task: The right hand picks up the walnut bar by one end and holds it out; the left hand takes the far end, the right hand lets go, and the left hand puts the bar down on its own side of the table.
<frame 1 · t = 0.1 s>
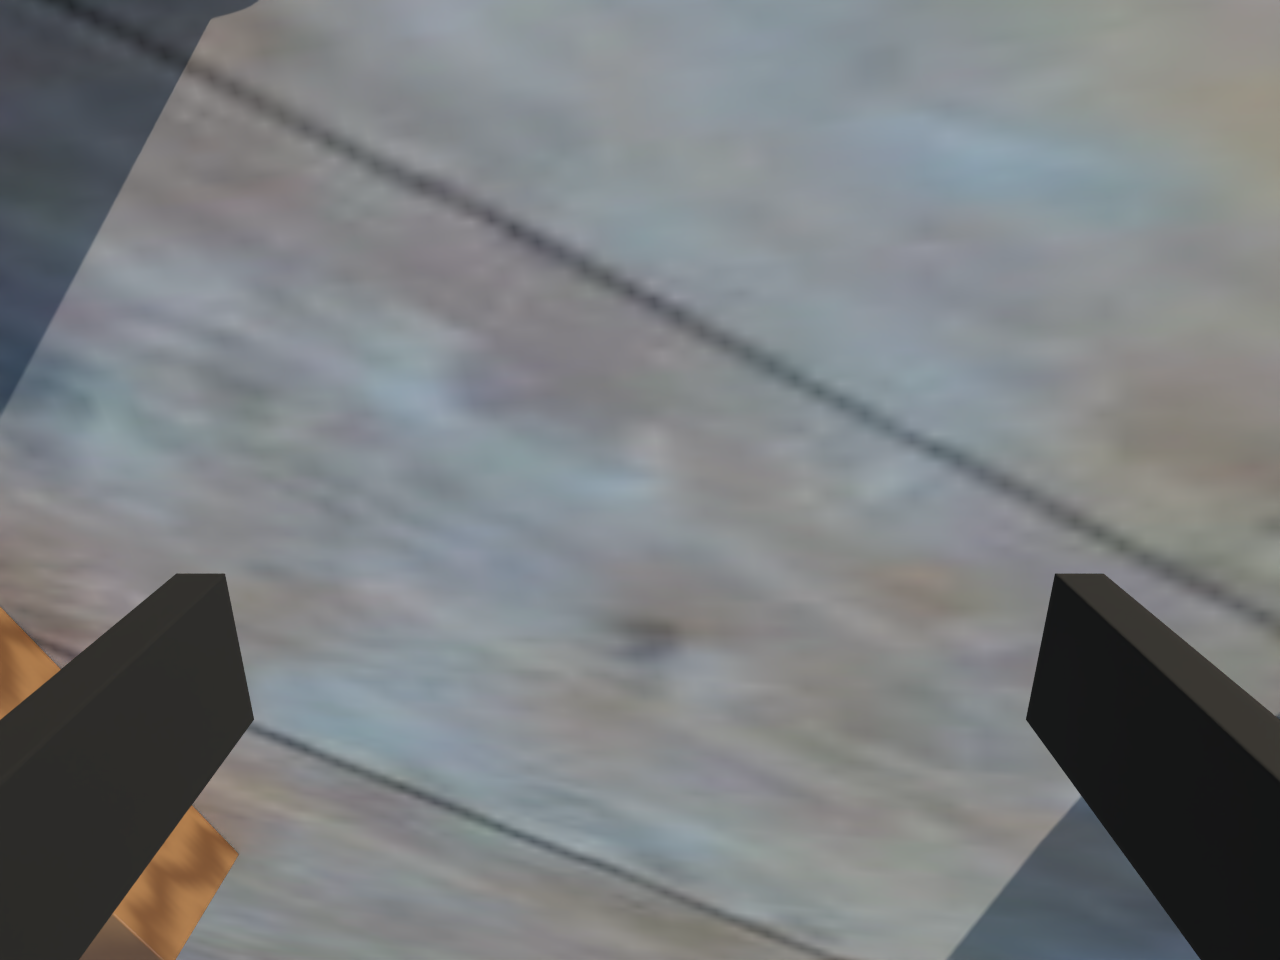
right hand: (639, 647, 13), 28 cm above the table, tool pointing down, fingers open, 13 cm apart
bar: (67, 724, 47), on the table
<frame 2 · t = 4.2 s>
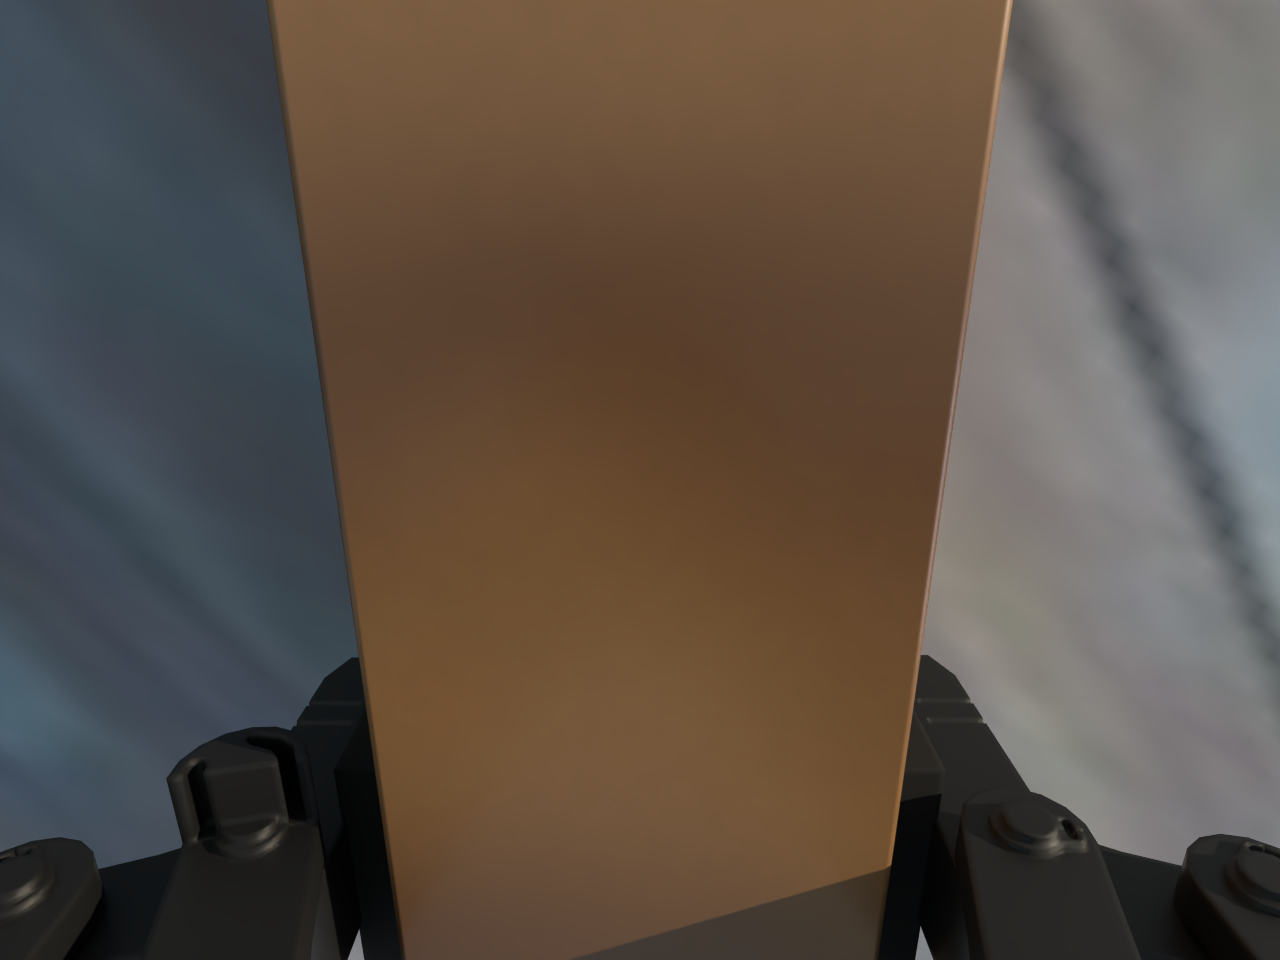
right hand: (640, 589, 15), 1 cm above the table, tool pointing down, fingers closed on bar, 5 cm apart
bar: (639, 17, 12), on the table, touching right hand
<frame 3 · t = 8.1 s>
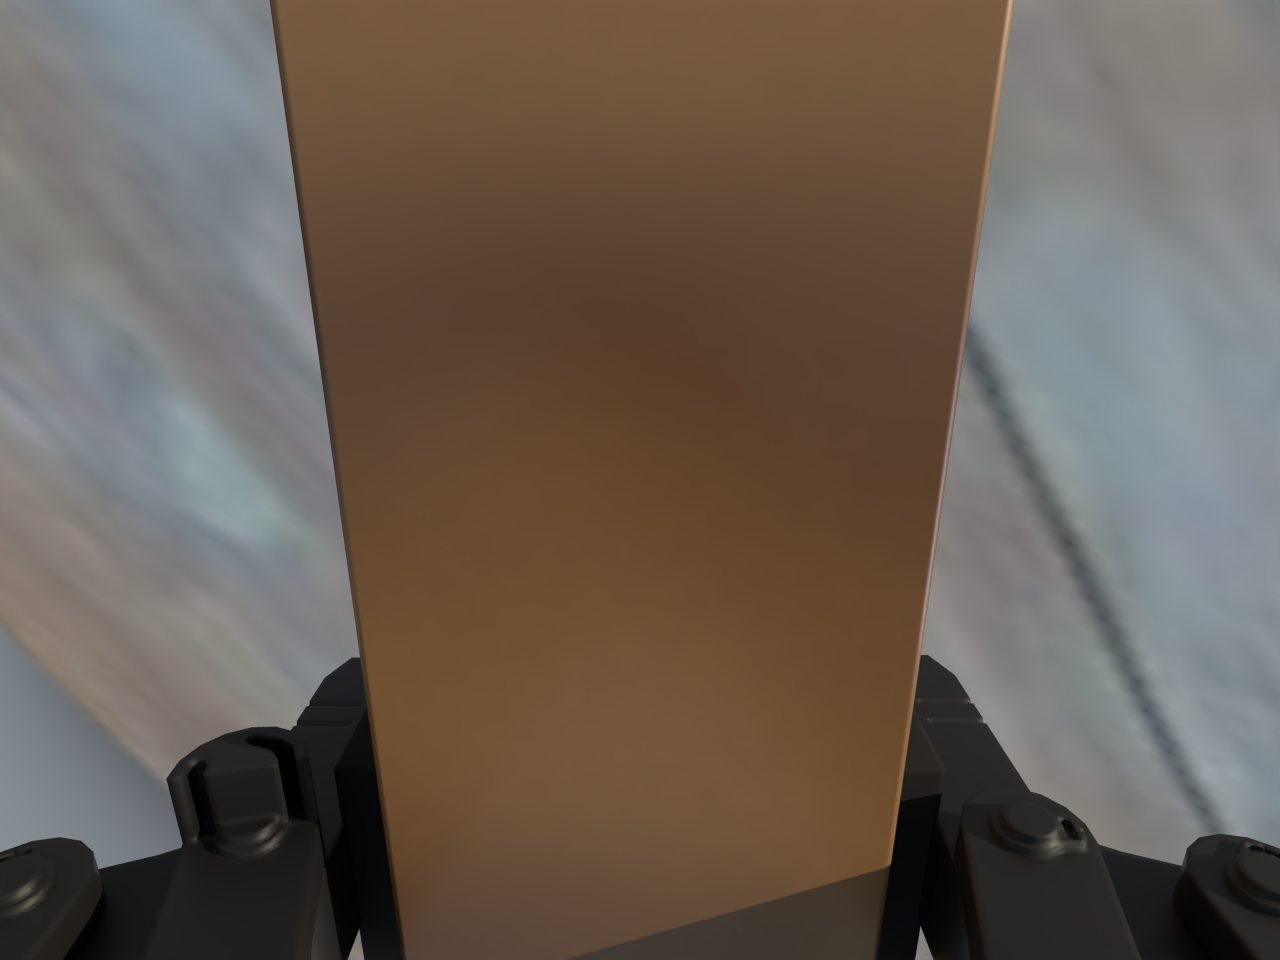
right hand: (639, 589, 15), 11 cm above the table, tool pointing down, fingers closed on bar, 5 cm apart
bar: (640, 16, 12), point 10 cm above the table, touching right hand, left hand
when the right hand's fingers open (11 cm above the table, at t = 9.1 s): bar stays where it is, held by the left hand.
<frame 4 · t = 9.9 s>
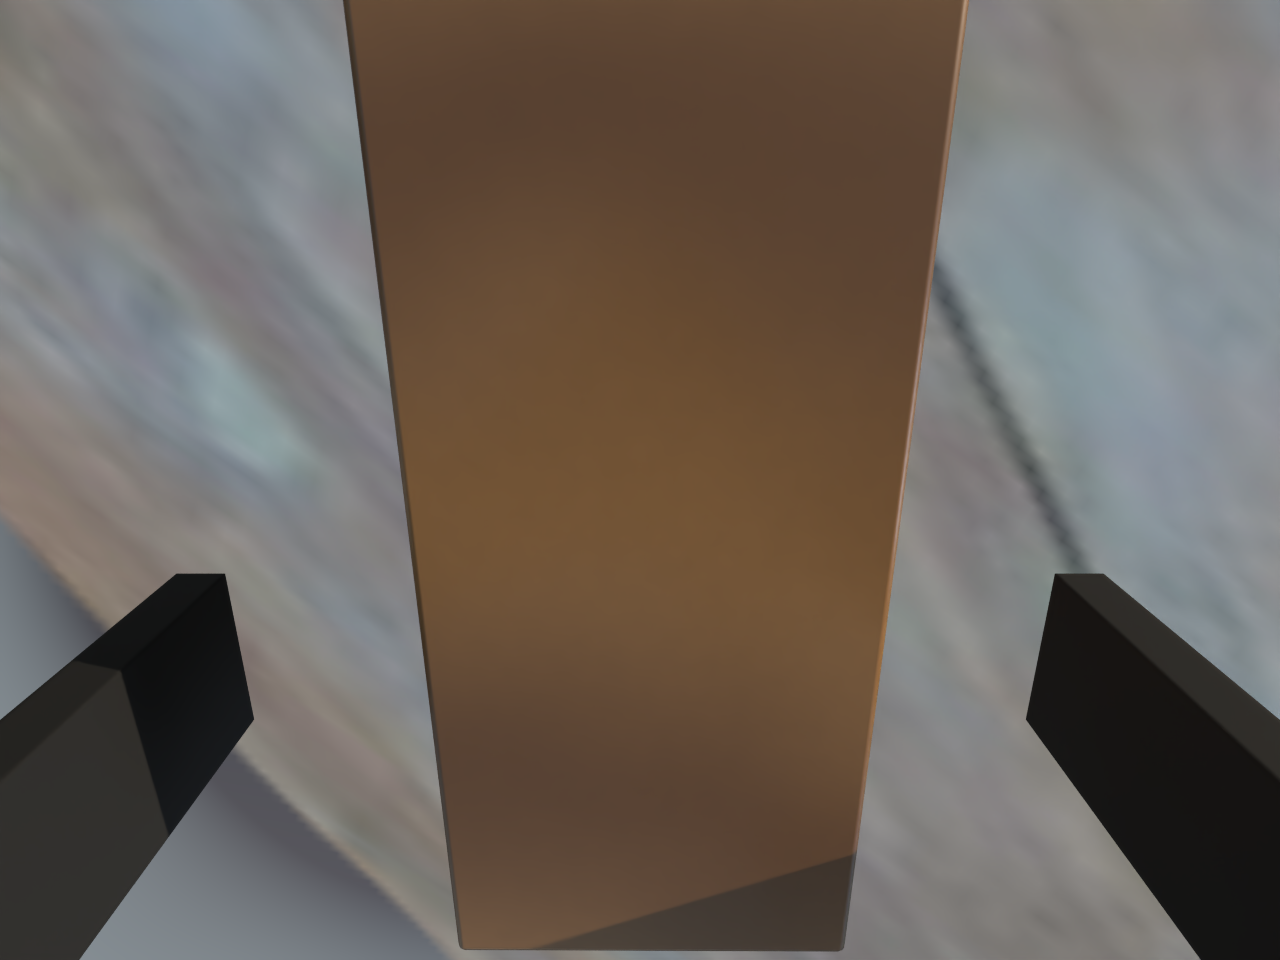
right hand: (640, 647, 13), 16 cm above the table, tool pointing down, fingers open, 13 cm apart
when the left hand's fingers open (4 cm above the table, at t = 14.4 s): bar stays where it is, on the table.
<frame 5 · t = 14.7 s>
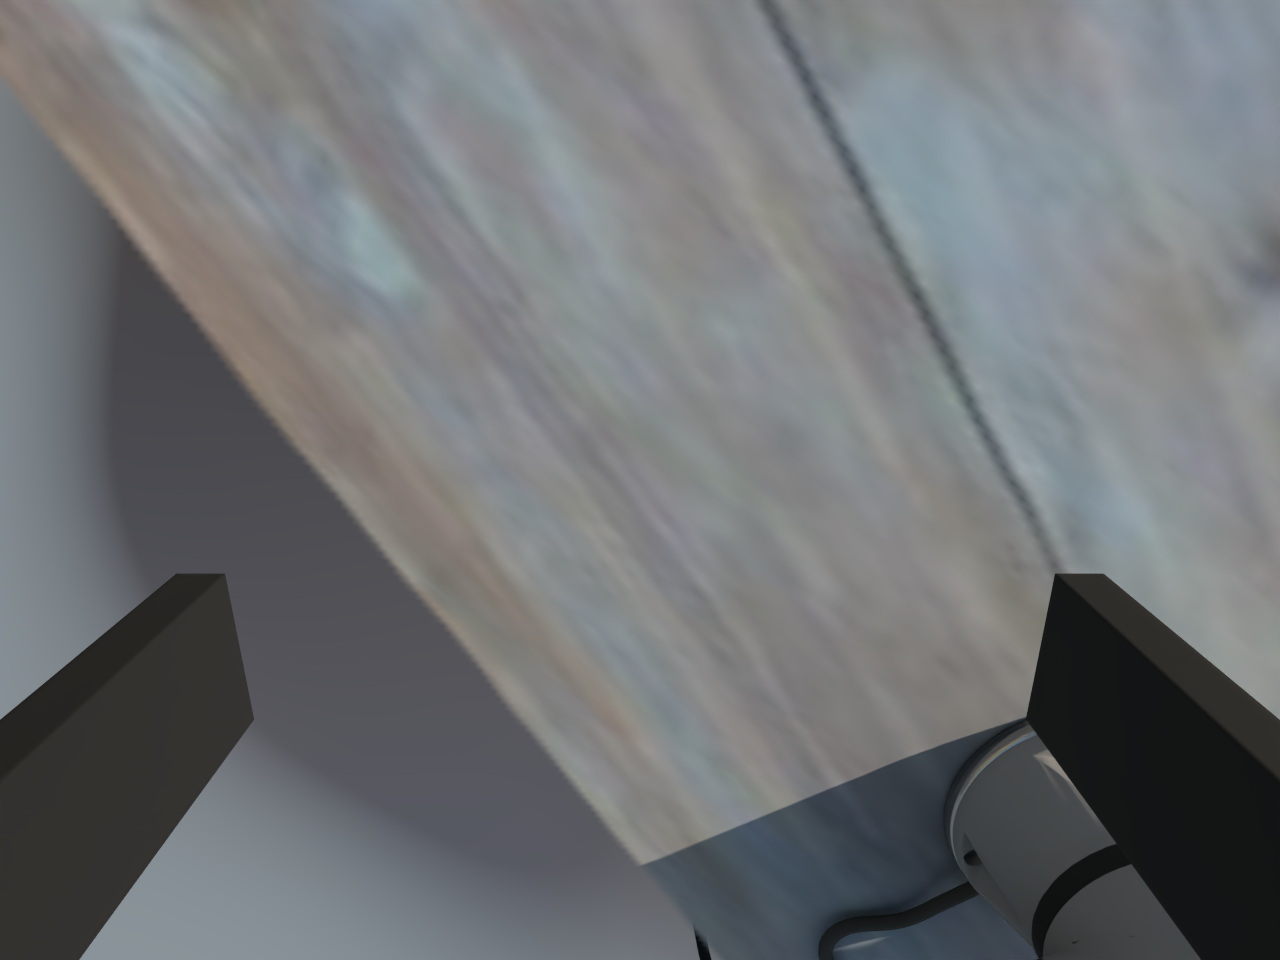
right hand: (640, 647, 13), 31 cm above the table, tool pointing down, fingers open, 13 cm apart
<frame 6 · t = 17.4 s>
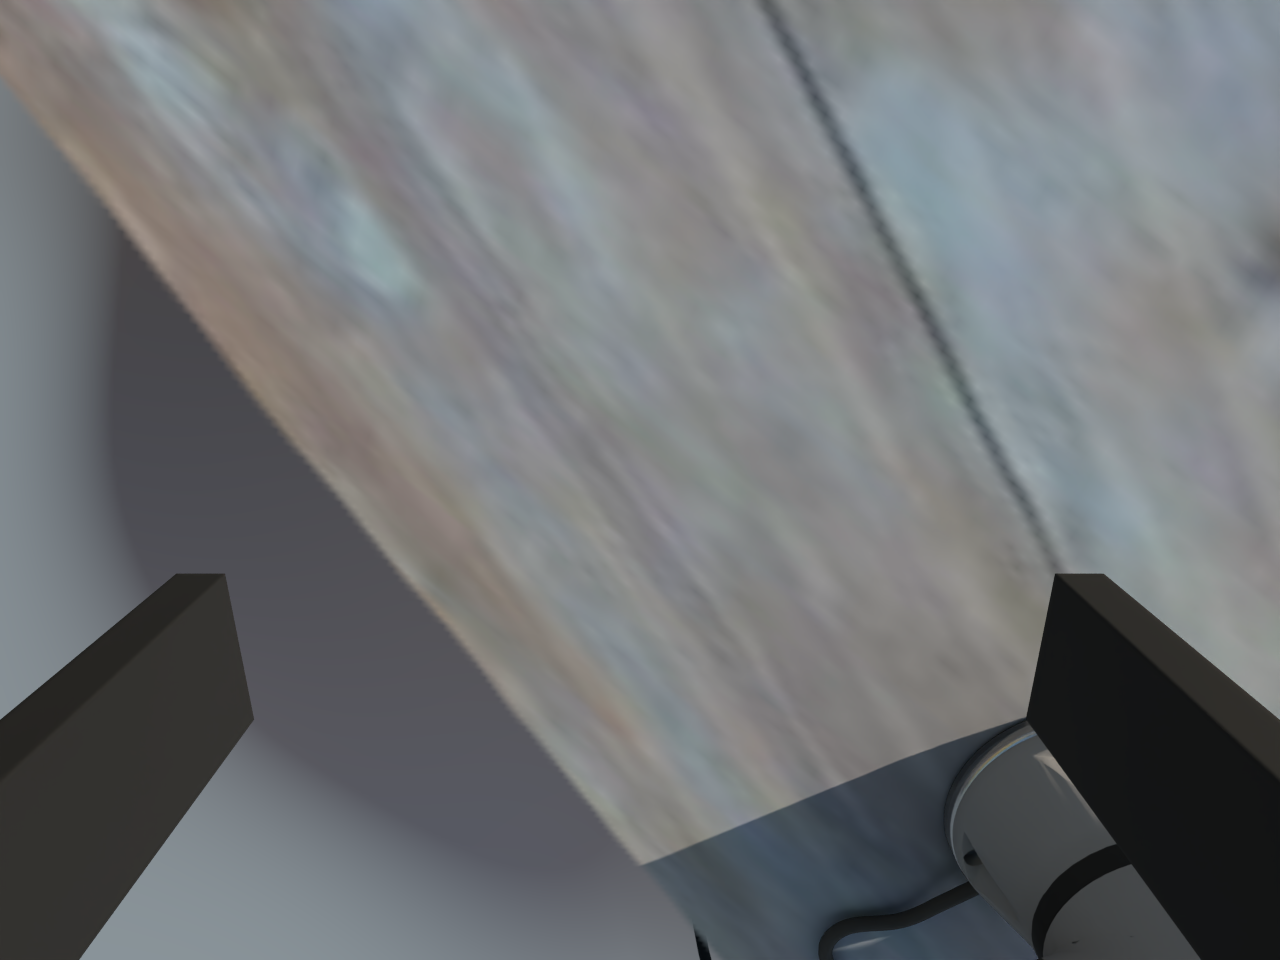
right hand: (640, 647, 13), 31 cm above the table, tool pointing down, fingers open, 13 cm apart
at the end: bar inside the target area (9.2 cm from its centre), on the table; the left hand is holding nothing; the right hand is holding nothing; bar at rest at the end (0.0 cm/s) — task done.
